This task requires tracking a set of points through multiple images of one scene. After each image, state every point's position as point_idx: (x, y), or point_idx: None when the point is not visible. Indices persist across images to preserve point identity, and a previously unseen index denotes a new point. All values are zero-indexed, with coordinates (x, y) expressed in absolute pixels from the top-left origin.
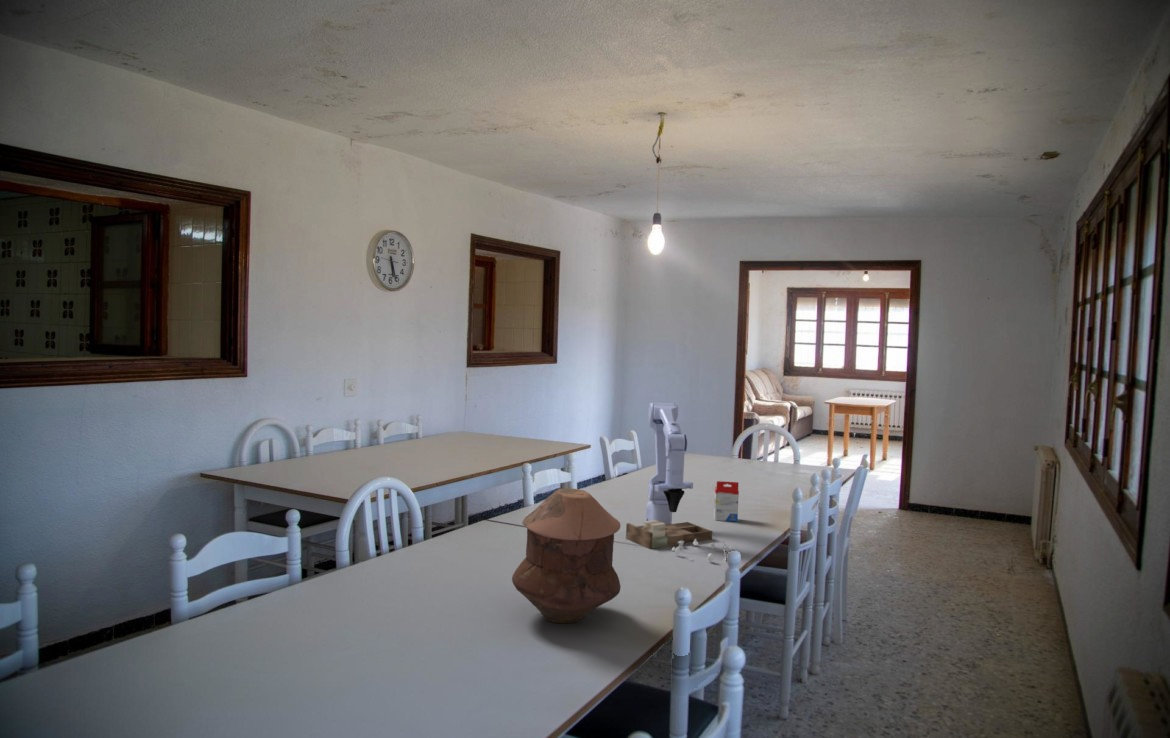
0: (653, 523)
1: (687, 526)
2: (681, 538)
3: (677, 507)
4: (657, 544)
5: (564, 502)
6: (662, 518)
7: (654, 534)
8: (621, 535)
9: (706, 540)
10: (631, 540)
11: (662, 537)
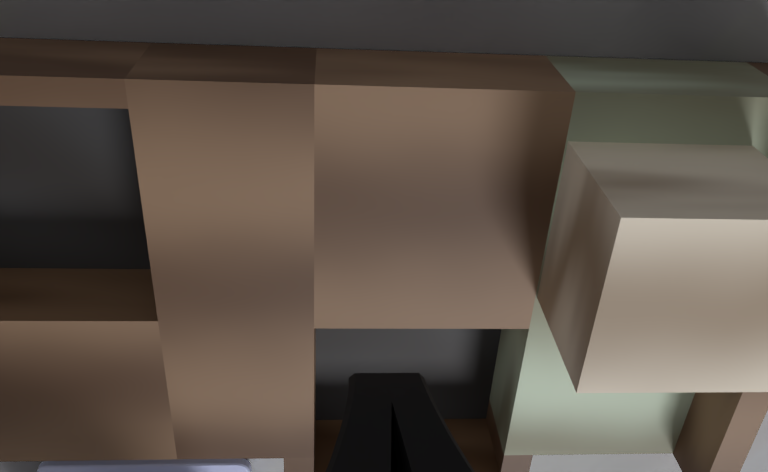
0: (747, 287)
1: (23, 344)
2: (340, 71)
3: (348, 423)
4: (691, 70)
5: None
6: None
7: (739, 159)
8: (621, 461)
9: None
10: None
11: (643, 102)
